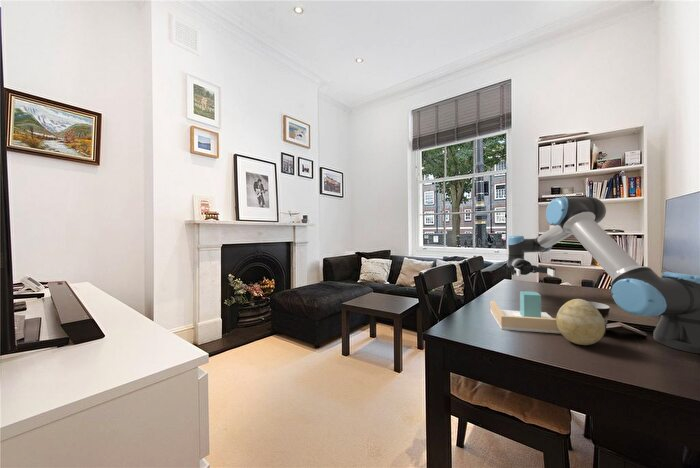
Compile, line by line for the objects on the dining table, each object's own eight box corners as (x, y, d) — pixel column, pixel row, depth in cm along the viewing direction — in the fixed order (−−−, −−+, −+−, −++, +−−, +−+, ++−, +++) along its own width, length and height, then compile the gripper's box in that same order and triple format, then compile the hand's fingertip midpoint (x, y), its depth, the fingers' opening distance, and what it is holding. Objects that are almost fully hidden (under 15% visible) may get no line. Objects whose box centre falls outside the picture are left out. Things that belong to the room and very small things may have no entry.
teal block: (536, 315, 120) (536, 291, 120) (541, 319, 115) (541, 295, 114) (520, 314, 122) (519, 291, 122) (524, 318, 116) (524, 294, 116)
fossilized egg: (573, 351, 90) (573, 305, 89) (547, 335, 102) (548, 294, 102) (615, 352, 89) (616, 304, 88) (585, 335, 101) (585, 294, 101)
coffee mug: (597, 327, 108) (597, 301, 108) (616, 336, 100) (616, 308, 99) (564, 327, 110) (564, 301, 109) (580, 336, 101) (580, 308, 101)
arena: (568, 334, 103) (568, 320, 103) (501, 329, 109) (501, 316, 109) (545, 314, 124) (545, 303, 124) (490, 311, 130) (490, 300, 130)
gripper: (549, 274, 144) (569, 282, 124) (495, 273, 151) (505, 281, 130) (549, 259, 144) (569, 265, 123) (495, 259, 151) (505, 264, 130)
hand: (536, 273), depth 127 cm, fingers open, 13 cm apart
